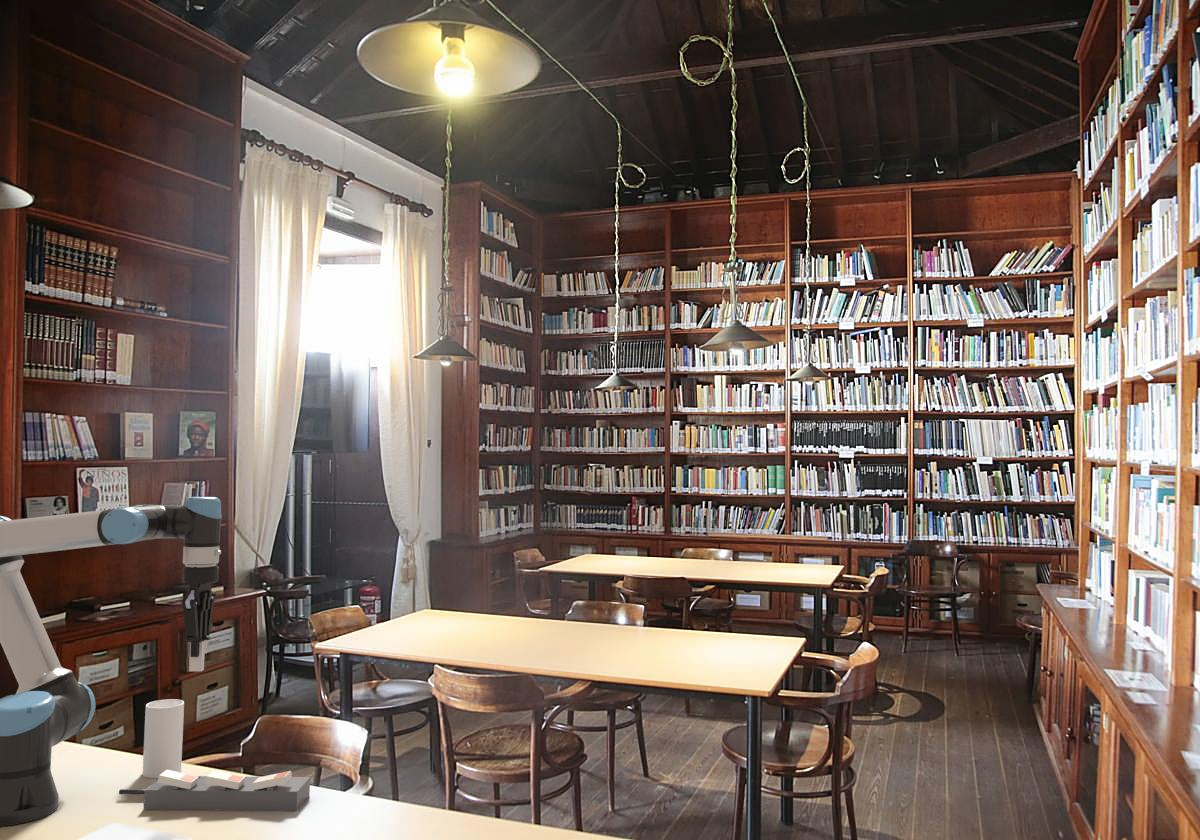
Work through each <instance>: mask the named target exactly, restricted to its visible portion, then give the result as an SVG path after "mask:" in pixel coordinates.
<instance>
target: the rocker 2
mask: <svg viewBox="0 0 1200 840" xmlns="http://www.w3.org/2000/svg"><path fill="white" fill-rule="evenodd" d="M206 776H207V777H206V782H205V783H207V784H212V785H217V786H222V787H227V788H232V789H237V790H238V789H239V788H240V787H241V786H242V785H243V784H244V782H245V777H246V776H243V775H238V774H234V773H228V772H224V771H217V770H212V771H211V772H210V773H209V774H207V775H206Z"/></svg>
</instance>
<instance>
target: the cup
mask: <svg viewBox="0 0 1200 840" xmlns="http://www.w3.org/2000/svg"><path fill="white" fill-rule="evenodd" d="M184 709H185V701H184V700H182V699H175V698H172V699H171V698H169V699H160V700H154V701H150V702H148V703H146V704H145V711H144V713H145V716H144V719H145V720H144V735H143V737H144V738H143V752H142V753H143V757H142V776H143V777H144V776H145V778H147V777H149V778H148V779H158V778H159V775H160V774H162V773H163V772H164V771H166V770H171V771H176V772H180V773H181V772H182V757H183V739H184V738H183V736H184V715H185V714H184V713H185V710H184Z"/></svg>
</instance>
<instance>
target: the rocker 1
mask: <svg viewBox="0 0 1200 840" xmlns="http://www.w3.org/2000/svg"><path fill="white" fill-rule="evenodd" d="M198 776H199V775H193V774H187V773H185V772H181V771H180V772H176V771H171V770H166V771H164V772H163V773H162V774H160V775H159V778H157V781H158V782H159V783H163V784H167V785H172V786H176V787H181V788H185V789H191V788H192V787H194V786H195V785H196V784H197V782H198V778H199V777H198Z"/></svg>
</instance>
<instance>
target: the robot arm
mask: <svg viewBox="0 0 1200 840" xmlns="http://www.w3.org/2000/svg"><path fill="white" fill-rule="evenodd" d="M222 517H223V515H222V501H221V500H220V498H218V497H216V496H189V497H186V499H185V503H184V504H181V505H180V504H179V505H169V504H167V505H166V504H152V503H151V504H149V503H148V504H136V505H134V506H122V507H121V506H120V507H117V508H112V509H110V508H109V509H101V510H93V511H92V510H91V511H83V512H75V513H65V514H56V515H45V516H37V517H28V518H18V519H11V518H9V517H7V516H3V515H0V645H1V647H2V649H3V652H4V654H5V656H6V659H7V661H8V663H9V666H10V668H11V670H12V673H13V675H14V677H15V679H16V681H17V683H18V684H17V685H18V688H17V690H16V693H15V694H10V695H6V696H4V697H1V698H0V827H5V826H6V827H8V826H14V825H20V824H24V823H28V822H33V821H36V820H40V819H43V818H44V817H47V816H49V815H51V814H53V813H54V812H55V811H56V810H57V809H58V808H59V799H60V798H59V792H58V790H57V786H56V783H55V779H54V777H53V774H52V771H51V770H52V769H51V768H52V767H51V766H52V763H51V762H52V749H53V748H52V747H54V746H56V745H59V744H60V743H62V742H64V741H66V740H68V739H70V738H72V737H75V736H77V735H78V734H79V733H80V732H81V731H83V730H84V729H85V728H86V727H87V726H88V725H90V722H91V721H92V719H93V717H94V714H95V710H96V699H95V697H96V696H95V695H94V693H93V691H92V689H91V688H90V687H89V686H88V685H87V684H83V683H82V682H81V681H77V680H76V679H77V678H76V677H75V675H74V672H73V670H71V669H68V668H64V667H63V666H62V665H61V662H60V660H59V658H58V656H57V653H56V651H55V649H54V647H53V645H52V642H51V640H50V638H49V635H48V633H47V630H46V628H45V626H44V624H43V622H42V619H41V617H40V615H39V613H38V610H37V607H36V605H35V603H34V600H33V598H32V596H31V593H30V591H29V590H28V587H27V585H26V583H25V580H24V578H23V575H22V573H21V569H22V568H23V567H22V566H23V565H24V563H25V560H24V558H23V555H30V554H39V553H41V554H42V553H48V552H49V553H51V552H58V551H67V550H68V551H69V550H75V549H76V550H77V549H84V548H85V549H86V548H92V547H103V546H113V545H128V544H134V543H136V542H143V541H149V540H155V539H156V540H157V539H183V549H182V550H183V552H182V553H183V554H182V564H183V565H184V566H183V567H182V573H181V574H182V576H181V580H182V581H181V582H182V583H183V584H184V585H185V584H186V585H187V584H188V590H187V598H185V599H182V601H181V603H182V609H183V622H184V634H185V635H184V636H185V637H184V638H185V639H184V640H185V643H189V660H188V662H189V663H188V671H189V672H203V671H204V670H205V653H206V652H205V649H206V641H209V640H210V638H211V637H210V635H211V628H212V621H213V620H212V619H213V613H214V607H215V602H216V597H217V593H216V592H212V584H214V583H217V582H218V581H219V575H220V573H219V572H220V567H219V566H218V563H220V555H221V554H222V550H221V549H220V548H221V547H220V545H221V543H220V542H221V541H220V540H221V525H222V519H223V518H222Z"/></svg>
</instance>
